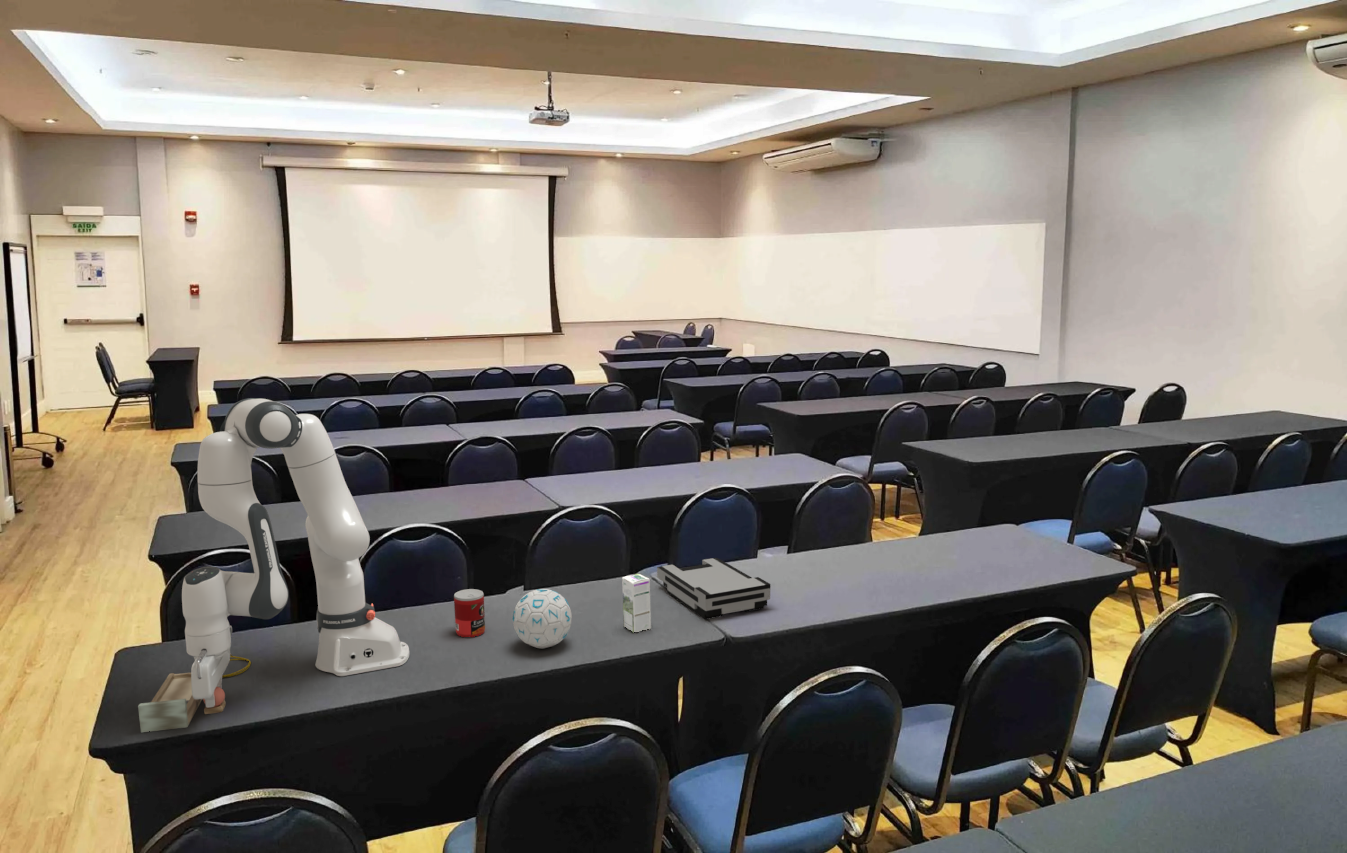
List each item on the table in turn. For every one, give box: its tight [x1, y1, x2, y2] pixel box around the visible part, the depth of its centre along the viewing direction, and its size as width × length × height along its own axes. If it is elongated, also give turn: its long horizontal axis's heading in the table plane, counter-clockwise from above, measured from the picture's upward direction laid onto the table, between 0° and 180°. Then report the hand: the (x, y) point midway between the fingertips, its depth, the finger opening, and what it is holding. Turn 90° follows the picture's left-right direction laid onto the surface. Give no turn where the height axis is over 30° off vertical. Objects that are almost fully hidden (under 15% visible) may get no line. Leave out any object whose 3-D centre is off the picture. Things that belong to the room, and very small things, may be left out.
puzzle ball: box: [512, 588, 573, 649], centre depth 242 cm, size 15×15×15 cm
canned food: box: [453, 588, 486, 638], centre depth 251 cm, size 8×8×11 cm
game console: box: [656, 557, 771, 620], centre depth 276 cm, size 21×32×8 cm, turn 26°
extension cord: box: [222, 652, 252, 679], centre depth 232 cm, size 12×16×2 cm
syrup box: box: [621, 573, 652, 634], centre depth 253 cm, size 6×6×14 cm
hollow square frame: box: [203, 699, 227, 715], centre depth 209 cm, size 4×4×1 cm
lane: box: [137, 672, 203, 733], centre depth 211 cm, size 9×24×6 cm, turn 14°
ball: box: [202, 687, 226, 707], centre depth 208 cm, size 4×4×4 cm
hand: (214, 700), depth 209 cm, fingers closed on ball, 4 cm apart
